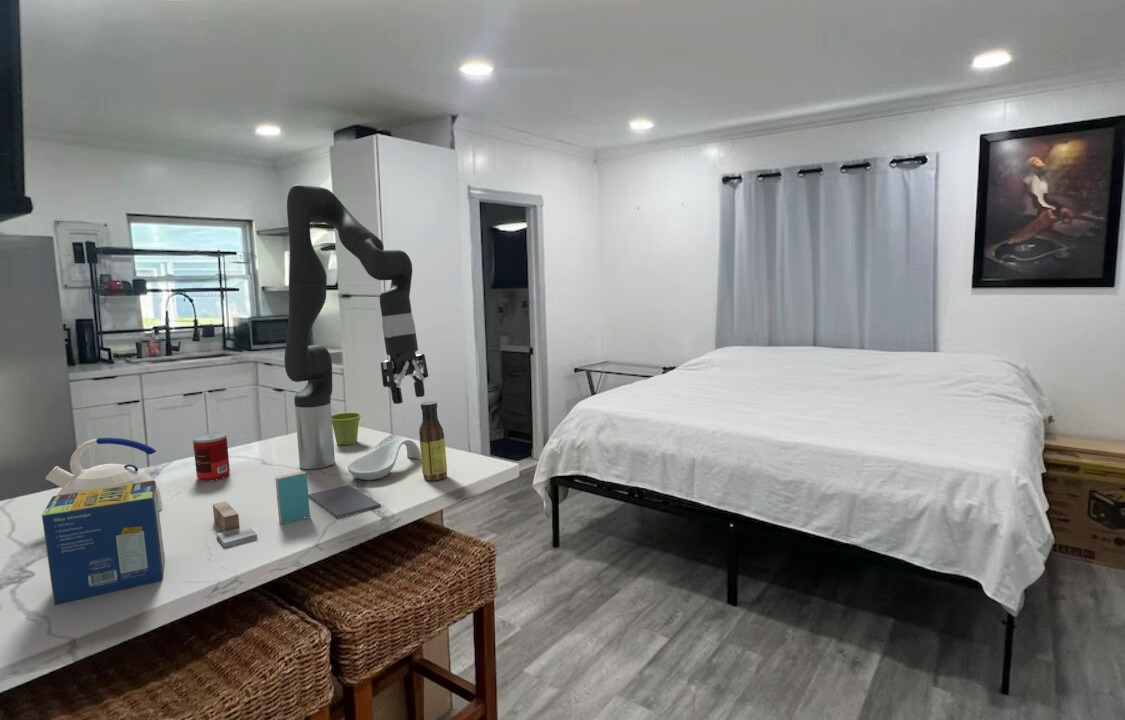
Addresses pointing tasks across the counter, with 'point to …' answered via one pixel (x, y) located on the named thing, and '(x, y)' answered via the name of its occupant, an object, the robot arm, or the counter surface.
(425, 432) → the sauce bottle
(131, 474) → the kettle
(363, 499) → the mat
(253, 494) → the counter surface
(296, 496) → the tile
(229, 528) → the tall tan post
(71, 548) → the protein box
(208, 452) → the canned food
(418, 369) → the robot arm
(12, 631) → the counter surface
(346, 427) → the plant pot
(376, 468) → the spoon rest
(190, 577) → the counter surface
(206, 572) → the counter surface
